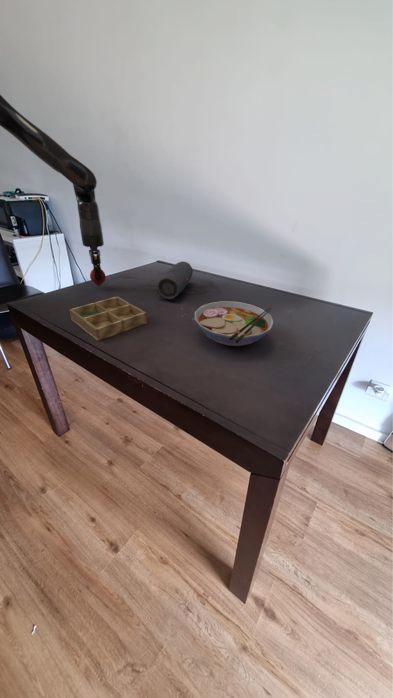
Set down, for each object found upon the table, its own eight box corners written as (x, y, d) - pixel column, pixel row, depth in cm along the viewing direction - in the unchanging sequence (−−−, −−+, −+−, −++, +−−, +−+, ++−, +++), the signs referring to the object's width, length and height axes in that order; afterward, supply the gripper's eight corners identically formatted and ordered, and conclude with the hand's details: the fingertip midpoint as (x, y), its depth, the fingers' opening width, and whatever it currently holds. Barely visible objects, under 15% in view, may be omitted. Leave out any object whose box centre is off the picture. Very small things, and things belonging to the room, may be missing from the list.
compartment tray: (97, 341, 82) (95, 329, 80) (71, 320, 92) (69, 309, 90) (147, 323, 92) (146, 312, 90) (118, 306, 102) (117, 296, 100)
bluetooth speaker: (180, 304, 106) (180, 278, 100) (156, 301, 107) (155, 275, 102) (193, 284, 125) (194, 261, 119) (173, 281, 126) (173, 258, 121)
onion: (105, 282, 118) (102, 263, 114) (107, 286, 114) (105, 267, 110) (90, 283, 116) (87, 264, 112) (92, 288, 112) (89, 268, 107)
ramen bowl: (219, 314, 100) (221, 292, 96) (281, 334, 89) (287, 310, 85) (175, 343, 82) (175, 317, 78) (245, 372, 72) (250, 345, 67)
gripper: (80, 228, 108) (87, 271, 117) (81, 236, 97) (88, 283, 106) (100, 228, 111) (105, 270, 120) (104, 235, 99) (109, 282, 108)
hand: (97, 276), depth 113 cm, fingers closed on onion, 6 cm apart
